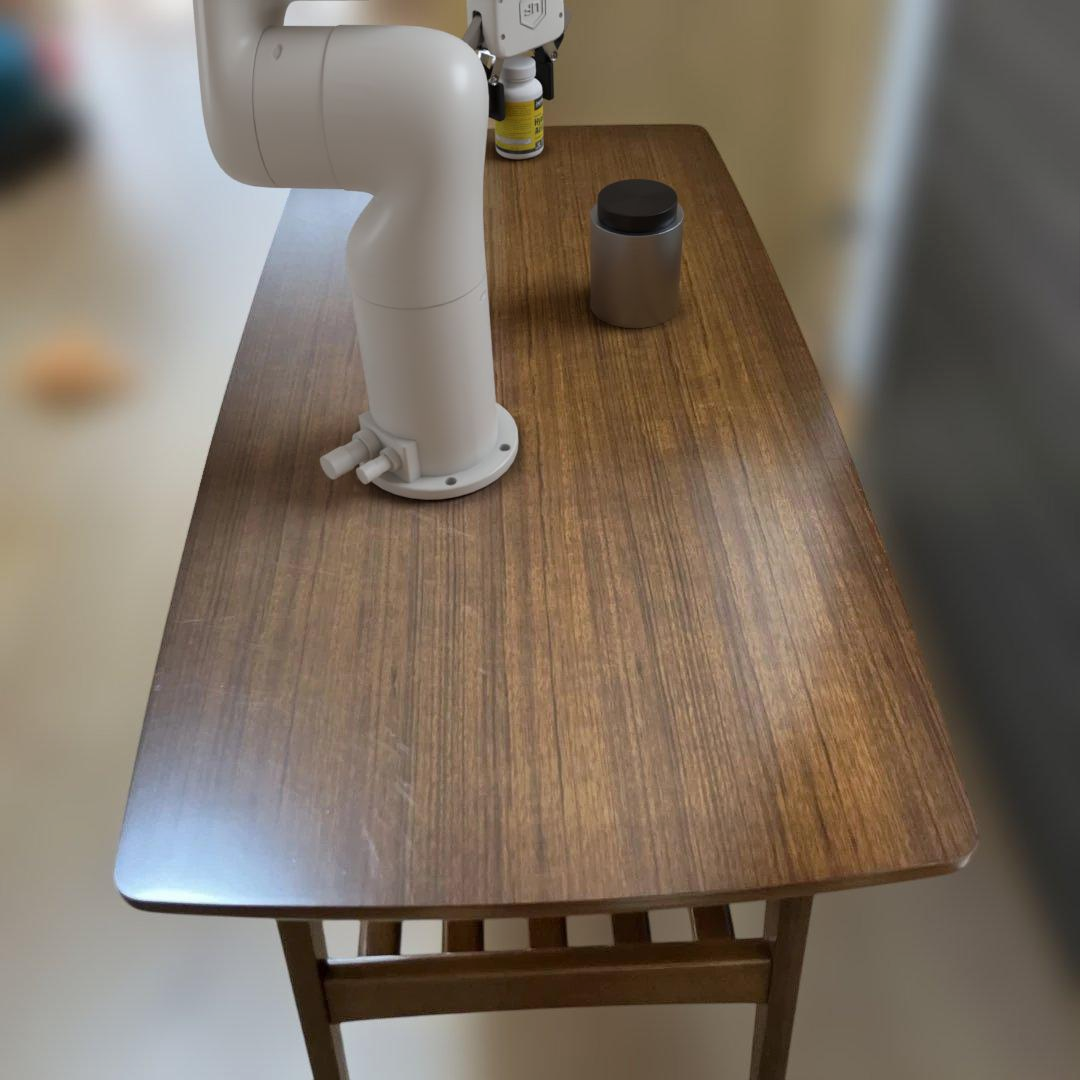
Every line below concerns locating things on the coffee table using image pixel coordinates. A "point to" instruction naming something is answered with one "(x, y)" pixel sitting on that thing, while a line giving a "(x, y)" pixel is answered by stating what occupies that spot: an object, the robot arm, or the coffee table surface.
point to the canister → (635, 253)
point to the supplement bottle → (520, 110)
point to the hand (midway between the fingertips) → (518, 105)
